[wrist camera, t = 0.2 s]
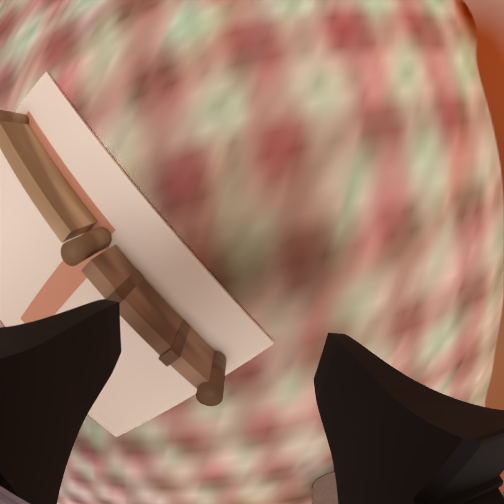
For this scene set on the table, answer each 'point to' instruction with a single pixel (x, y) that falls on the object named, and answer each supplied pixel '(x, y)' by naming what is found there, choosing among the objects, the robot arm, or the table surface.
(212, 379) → the fence panel
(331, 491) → the house plant
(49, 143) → the card
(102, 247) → the fence fixed
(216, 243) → the table surface
